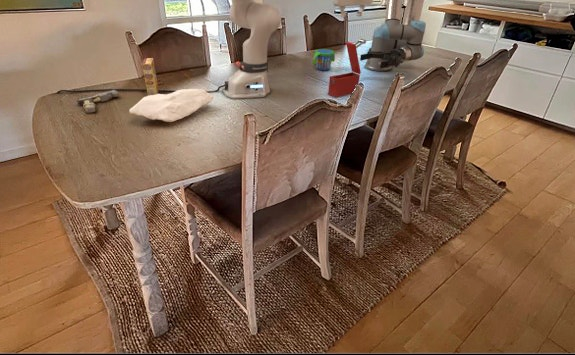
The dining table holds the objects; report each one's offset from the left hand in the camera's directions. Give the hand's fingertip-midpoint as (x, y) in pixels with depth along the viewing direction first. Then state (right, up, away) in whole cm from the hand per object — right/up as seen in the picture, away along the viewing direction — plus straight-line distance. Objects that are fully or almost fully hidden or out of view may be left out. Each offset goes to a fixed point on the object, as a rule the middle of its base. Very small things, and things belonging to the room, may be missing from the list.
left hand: (351, 16), depth 159 cm
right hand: (+13, -14, +19) cm, 26 cm away
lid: (+3, -15, +12) cm, 19 cm away
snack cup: (-7, -7, +53) cm, 54 cm away
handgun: (-108, -39, -3) cm, 115 cm away
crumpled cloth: (-75, -44, -10) cm, 88 cm away
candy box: (-90, -33, +8) cm, 96 cm away
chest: (-1, -29, +19) cm, 35 cm away
